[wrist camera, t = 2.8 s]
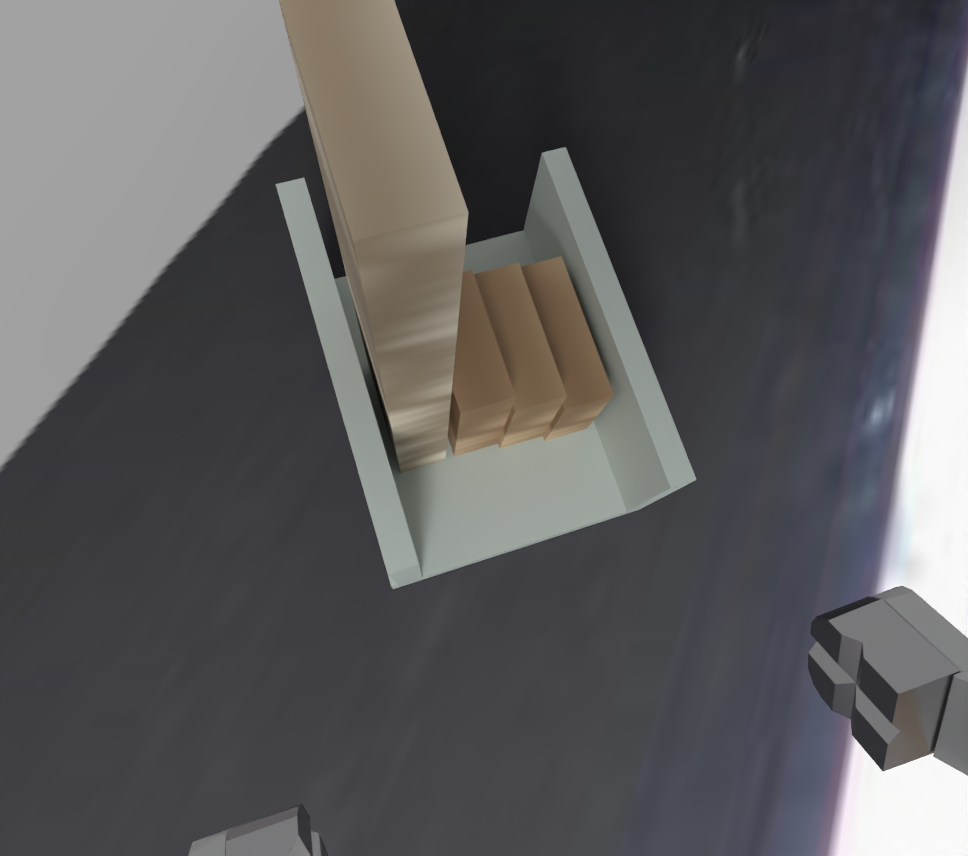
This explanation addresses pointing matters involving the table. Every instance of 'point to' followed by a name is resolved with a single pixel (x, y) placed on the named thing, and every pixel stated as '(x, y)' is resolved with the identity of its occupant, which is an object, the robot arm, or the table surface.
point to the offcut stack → (522, 359)
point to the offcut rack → (493, 471)
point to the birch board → (387, 207)
